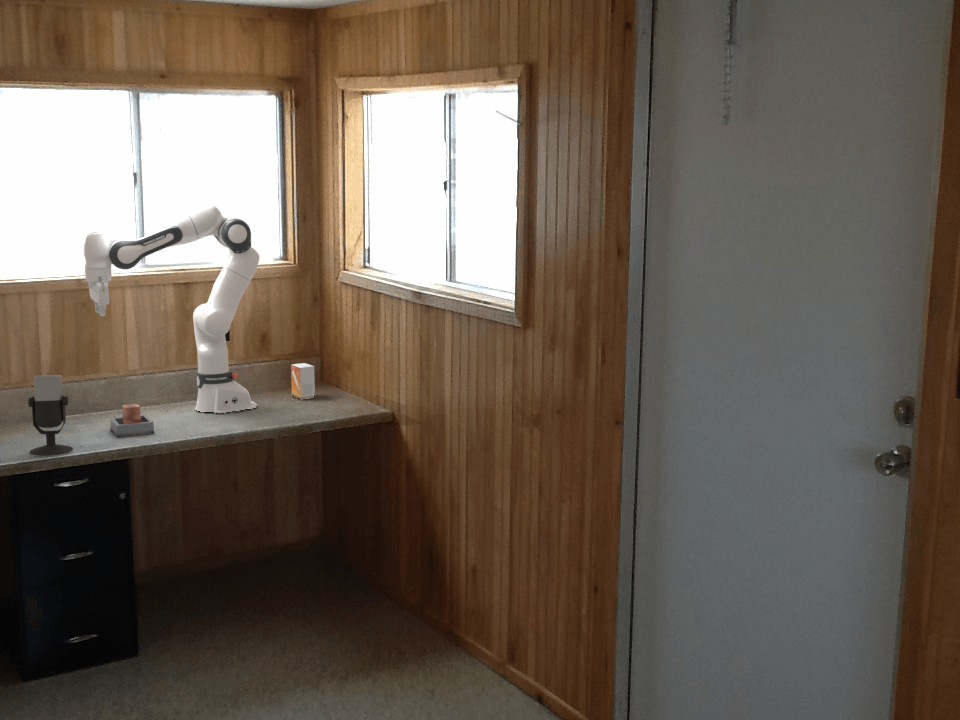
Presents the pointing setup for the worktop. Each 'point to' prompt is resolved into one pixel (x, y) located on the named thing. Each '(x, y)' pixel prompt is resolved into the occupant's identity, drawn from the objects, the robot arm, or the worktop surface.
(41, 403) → the microphone
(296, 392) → the small box
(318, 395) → the worktop surface
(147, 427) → the bin
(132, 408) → the red block
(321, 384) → the worktop surface
